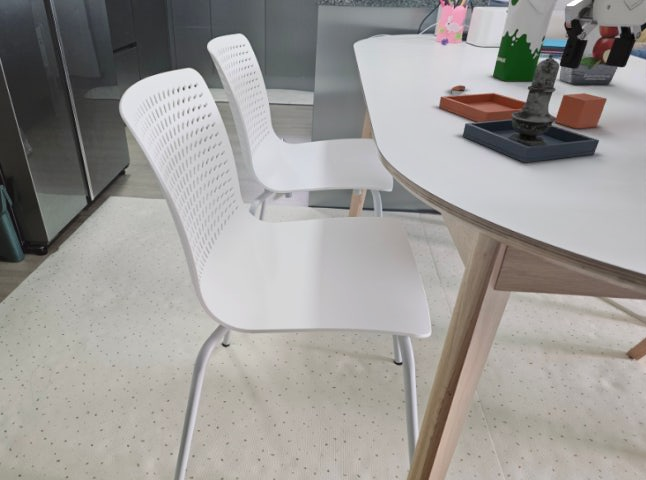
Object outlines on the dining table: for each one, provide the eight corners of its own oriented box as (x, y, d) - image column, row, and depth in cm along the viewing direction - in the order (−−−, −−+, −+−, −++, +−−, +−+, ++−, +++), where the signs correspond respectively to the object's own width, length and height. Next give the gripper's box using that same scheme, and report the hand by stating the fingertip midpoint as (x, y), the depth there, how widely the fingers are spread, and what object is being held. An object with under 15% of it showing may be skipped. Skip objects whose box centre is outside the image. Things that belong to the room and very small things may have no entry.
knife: (462, 97, 94) (446, 95, 95) (461, 100, 94) (446, 98, 95) (468, 85, 104) (454, 84, 105) (467, 88, 104) (453, 87, 105)
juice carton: (552, 79, 116) (592, -54, 101) (594, 79, 116) (641, -54, 101) (571, 85, 108) (617, -57, 94) (616, 86, 108) (669, -57, 94)
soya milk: (487, 75, 120) (508, -17, 109) (522, 75, 120) (547, -17, 109) (501, 82, 112) (526, -16, 101) (539, 82, 112) (567, -16, 102)
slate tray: (525, 130, 76) (528, 117, 75) (594, 154, 66) (599, 140, 65) (462, 136, 73) (465, 123, 72) (524, 162, 62) (528, 148, 61)
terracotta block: (574, 120, 82) (584, 93, 79) (596, 126, 78) (607, 98, 76) (554, 122, 81) (563, 94, 78) (575, 128, 77) (585, 100, 75)
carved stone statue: (550, 139, 70) (579, 51, 63) (544, 149, 66) (574, 56, 59) (509, 133, 73) (532, 48, 66) (500, 142, 68) (524, 52, 62)
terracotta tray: (491, 103, 93) (493, 92, 92) (542, 119, 82) (545, 107, 81) (438, 107, 89) (440, 96, 88) (484, 124, 79) (487, 112, 78)
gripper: (617, -72, 60) (568, 72, 69) (711, -65, 65) (653, 69, 74) (570, -68, 66) (531, 64, 75) (659, -61, 71) (612, 62, 80)
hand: (592, 66), depth 74 cm, fingers open, 9 cm apart
